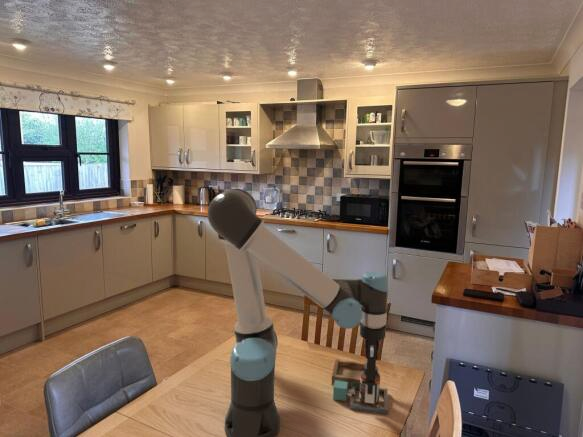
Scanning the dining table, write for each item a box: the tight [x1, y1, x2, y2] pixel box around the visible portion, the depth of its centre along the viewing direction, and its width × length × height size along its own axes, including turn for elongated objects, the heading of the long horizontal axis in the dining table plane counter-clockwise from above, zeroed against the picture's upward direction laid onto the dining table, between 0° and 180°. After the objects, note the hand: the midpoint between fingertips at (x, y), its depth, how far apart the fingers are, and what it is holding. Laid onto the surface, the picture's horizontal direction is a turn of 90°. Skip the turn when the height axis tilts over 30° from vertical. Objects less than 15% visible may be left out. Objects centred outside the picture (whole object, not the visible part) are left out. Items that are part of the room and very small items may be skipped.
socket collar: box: [349, 384, 389, 416], centre depth 126 cm, size 11×11×2 cm
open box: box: [331, 358, 367, 388], centre depth 139 cm, size 11×11×3 cm
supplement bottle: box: [358, 364, 381, 406], centre depth 125 cm, size 6×6×11 cm
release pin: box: [332, 380, 356, 402], centre depth 127 cm, size 6×4×4 cm, turn 78°
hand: (369, 390), depth 126 cm, fingers open, 11 cm apart
